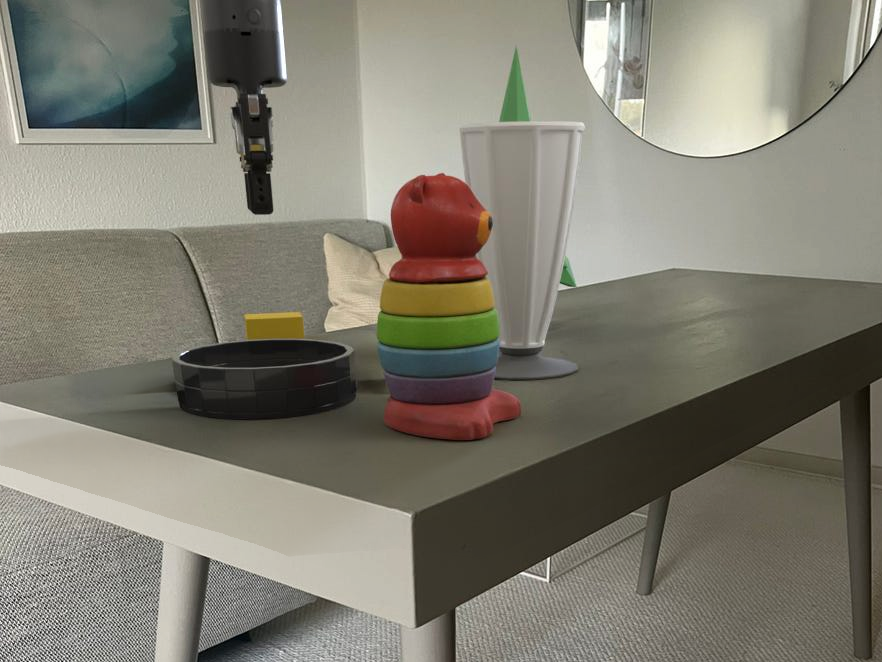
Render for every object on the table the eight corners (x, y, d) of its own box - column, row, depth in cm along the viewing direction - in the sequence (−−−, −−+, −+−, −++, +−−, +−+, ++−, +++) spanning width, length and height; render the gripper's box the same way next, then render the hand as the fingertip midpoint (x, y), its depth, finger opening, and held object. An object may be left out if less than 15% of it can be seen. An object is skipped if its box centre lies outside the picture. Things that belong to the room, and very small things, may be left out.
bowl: (177, 424, 78) (169, 373, 76) (181, 388, 92) (175, 343, 90) (367, 412, 81) (364, 362, 80) (344, 378, 95) (341, 335, 93)
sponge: (249, 358, 106) (245, 319, 104) (248, 352, 109) (244, 314, 107) (306, 355, 107) (302, 316, 105) (303, 349, 110) (299, 311, 109)
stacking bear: (480, 443, 72) (476, 172, 64) (356, 433, 75) (339, 174, 67) (528, 412, 81) (530, 171, 73) (415, 403, 84) (406, 173, 76)
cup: (592, 377, 94) (602, 120, 84) (473, 383, 92) (470, 121, 83) (561, 356, 104) (567, 125, 95) (454, 361, 102) (448, 126, 93)
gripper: (203, 37, 100) (222, 211, 107) (203, 18, 88) (224, 216, 95) (278, 39, 102) (291, 210, 109) (288, 20, 89) (302, 215, 96)
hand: (260, 212), depth 102 cm, fingers open, 8 cm apart
